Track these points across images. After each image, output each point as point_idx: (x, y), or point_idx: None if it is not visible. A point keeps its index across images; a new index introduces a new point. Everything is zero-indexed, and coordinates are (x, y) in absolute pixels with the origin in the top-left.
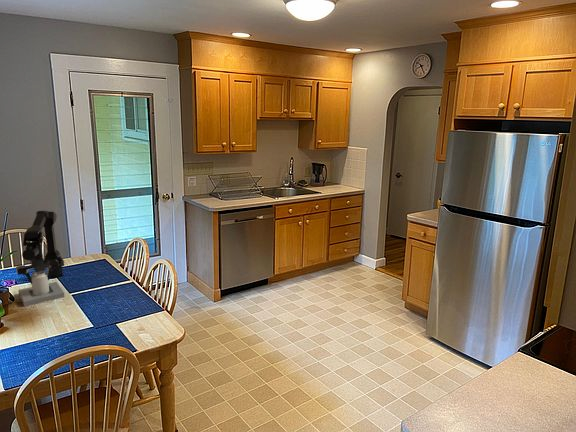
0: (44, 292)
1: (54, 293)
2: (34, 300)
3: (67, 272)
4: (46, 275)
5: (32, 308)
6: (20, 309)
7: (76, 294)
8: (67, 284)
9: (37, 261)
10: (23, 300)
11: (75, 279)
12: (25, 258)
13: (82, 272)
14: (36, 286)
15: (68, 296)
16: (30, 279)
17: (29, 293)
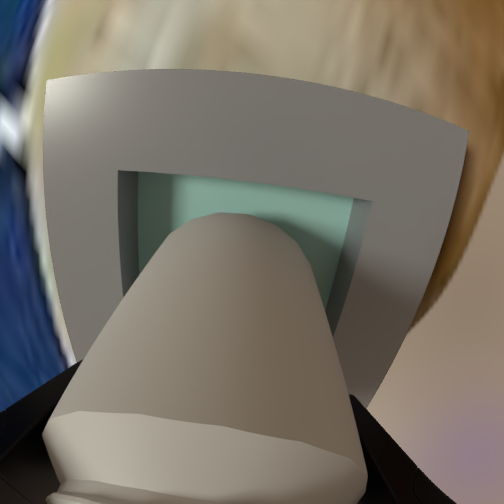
0: (212, 220)
1: (123, 114)
2: (375, 99)
3: None
4: (47, 424)
5: (403, 26)
6: (475, 98)
7: (5, 92)
8: (40, 334)
9: None
10: (460, 174)
11: (14, 361)
12: None
13: (7, 399)
14: (305, 303)
15: (51, 79)
16: (380, 458)
17: (343, 318)
